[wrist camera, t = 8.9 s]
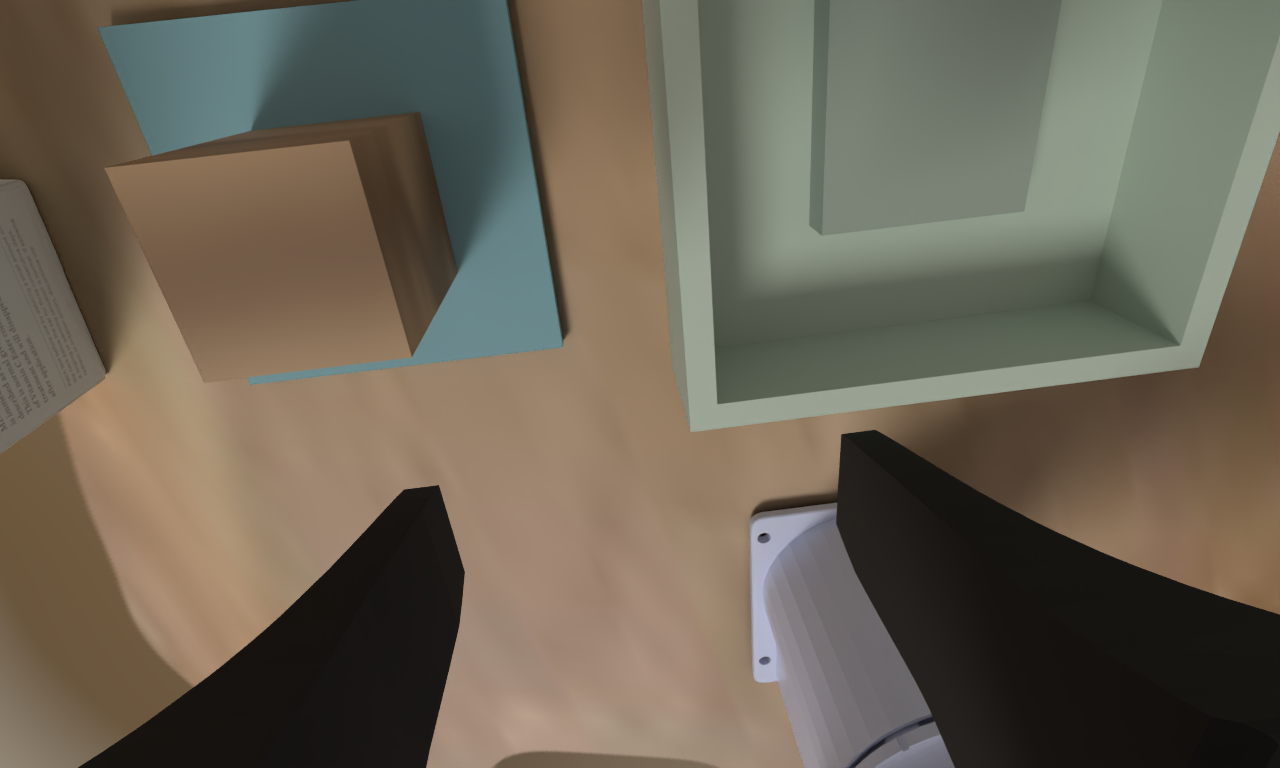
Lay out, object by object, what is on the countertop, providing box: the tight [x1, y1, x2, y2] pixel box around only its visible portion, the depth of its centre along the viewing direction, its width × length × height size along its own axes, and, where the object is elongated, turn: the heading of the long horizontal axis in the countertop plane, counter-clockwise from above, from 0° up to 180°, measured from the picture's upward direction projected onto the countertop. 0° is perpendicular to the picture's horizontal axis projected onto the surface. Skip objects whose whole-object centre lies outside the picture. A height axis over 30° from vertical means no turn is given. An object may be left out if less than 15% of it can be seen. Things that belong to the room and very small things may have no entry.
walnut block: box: [104, 112, 458, 383], centre depth 16 cm, size 4×4×6 cm
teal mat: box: [97, 0, 563, 385], centre depth 19 cm, size 10×10×1 cm
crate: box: [642, 0, 1280, 432], centre depth 17 cm, size 15×15×4 cm
